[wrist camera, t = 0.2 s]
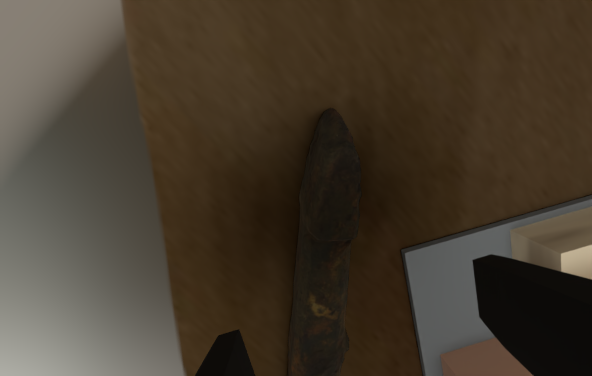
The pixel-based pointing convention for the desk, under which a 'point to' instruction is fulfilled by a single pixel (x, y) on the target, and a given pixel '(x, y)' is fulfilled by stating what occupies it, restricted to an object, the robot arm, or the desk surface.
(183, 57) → the desk surface
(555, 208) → the rubber mat
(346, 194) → the hand tool
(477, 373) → the terracotta cube
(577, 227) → the beech block
